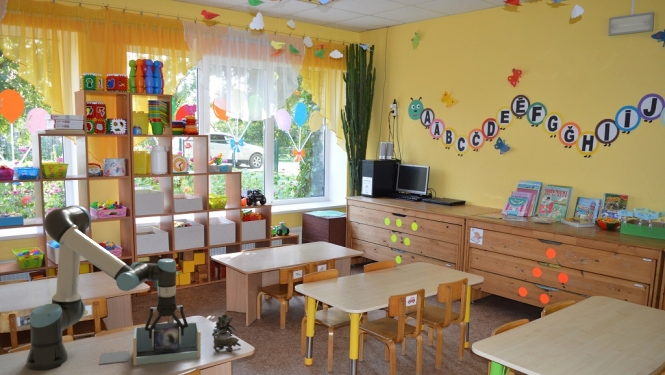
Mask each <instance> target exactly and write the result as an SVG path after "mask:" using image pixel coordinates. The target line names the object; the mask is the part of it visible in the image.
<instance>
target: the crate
mask: <svg viewBox="0 0 665 375" xmlns="http://www.w3.org/2000/svg"><path fill="white" fill-rule="evenodd" d="M181 323H182V324H184V322H181ZM187 323H188V327H186V328H184V335H183V336H181V344H179V349H180V348H188V347H195V348H196V350H194V351H193V350H192V351H182V352H175V353H173V352H172V353H164V354H163V353H162V354H154V355H153V354H152V355H145V356H138V353H139V352H140V353H141V352H150V351H154V346H152V338H151V339H150V338H149V331H145V326H136V327H134V332H133V333H134V334H133V338H132V344H133V346H132V348H133V349H132V350H133V352H132V353H133V354H132V355H133V357H132V358H133V359H132V360H133V363H132V364H133V366H137V365H138V366H139V365H149V364H157V363H165V362H174V361H175V362H176V361H184V360H185V361H186V360H192V359H195V360H196V359H201V356H202V354H201V353H202V352H201V350H202V348H201V346H202V344H201V338H202V337H201V336H202V335H201V334H202V332H201V330H200V327H199V324H198V321H192V322H187ZM150 326H151V325H149V327H150ZM179 328H180V326H179ZM153 330H154V328H153Z"/></svg>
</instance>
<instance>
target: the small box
mask: <svg viewBox="0 0 665 375" xmlns="http://www.w3.org/2000/svg"><path fill="white" fill-rule="evenodd" d="M179 349H180V348H179V325H178V324H177V322H174V323H167V322H164V323H161V322H160V323H157V324H156V325H155V327H154V350H153V352H171V351H179Z"/></svg>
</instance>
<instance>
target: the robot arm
mask: <svg viewBox="0 0 665 375" xmlns="http://www.w3.org/2000/svg"><path fill="white" fill-rule="evenodd" d="M91 224H92V215H91V213H90V211H89V210H88V209H87V208H86V207H84V206H83V205H77V204H76V205H68V206H64V207H61V208H55V209H52V210H51V211H49V212H48V213H47V214H46V216H45V218H44V220H43V226H44V230H45V232H46V233H47V235H48V236H49V237H50V239H52V240H54V241H55V242H56V243H58V245H59V246H58V259H57V260H58V261H57V277H56V291H55V292H56V293H55V294H54V295H52V296H51V303H46V304H43V305H39V306H37V307H35V308H34V309H33V310H31V312H30V316H29V324H30V325H29V327H30V330H29V331H30V349H29V352H28V356H27V358H26V366H27V369H31V370H37V371H39V370H41V371H43V370H49V369H52V368H57V367H59V366H62V364H64V363H65V362H66V361H68V352H67V350H66V347H65V345H64V343H63V342H64V341H63V331H65V330H66V329H68V328H70V327H71V326H73V325H75V324H77V323H78V322H80V320H81V319H82V318H83V317H84V315H85V313H86V305H85V302H84V301H83V299H82V295H81V294H80V293H79V284H80V283H79V281H80V264H81V257H82V258H83V259H85V260H86V261H87V262H89V263H91V264H92V265H94V266H95V267H96V268H98V270H101V271H102V272H103V273H105V274H106V275H107V276H109V277H110V278H111V279H113V280H115V283H116V286H117V288H118V289H119V290H120V291H122V292H128V291H132V290H135V289H136V288H137V287H138V286H140V285H142V284H143V283H145V282H157V306H155V307H153V306H150V307H149V314H148V316H147V319H146V322H145V326H144V327H145V331H149V338H150V339H151V338H152V346H154V330H153V328H154V327H155V325H156V324H158V322H159V321H160V319H161V318H162V317H163V318H164V317H168V316H171V315H172V317H173V318H174V322H175V323H177V324H178V325H179V326H180V328H179V344H181V336H183V335H184V328H186V327H188V323H189V322H188V321H187V318H186V315H185V312H184V306H183V304H180V305H177V304H176V302H177V297H176V296H177V295H176V294H177V262H176V260H175V259H173V258H161V259H159V260H157V263H153V262H152V263H151V262H141V261H140V262H133V263H131V264H130V265H128V264H126V263H125V262H124V261H123V260H121V259H120V258H119V257H117V256H116V255H114V254H113V253H111V252H110V251H108V250H107V249H106V248H104V247H103V246H101V245H100V244H98V243H97V242H96V241H94V240H93V238H92V239H91V238H90V237H89V236H87V235H86V234H87V229H89V228H90V226H91ZM177 310H178V311H179V312H180V313H179V314H180V316H181V318H182V321H183V322H182V321H181V320H180V318H179V317H178V315H177V314H176V311H177ZM156 311H157V313H158V314H157V315H156V317H155V319H154V320H153V321H151V320H152V318H153V316H154V313H155V312H156ZM151 322H152V323H151ZM182 323H184V324H182ZM150 324H151V325H150ZM149 326H150V327H149Z"/></svg>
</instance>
